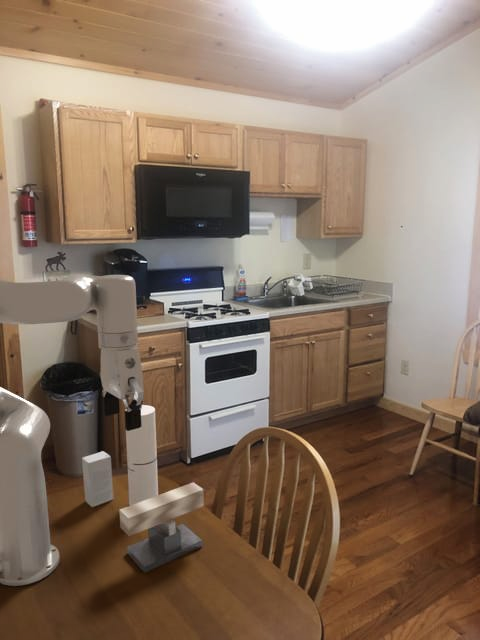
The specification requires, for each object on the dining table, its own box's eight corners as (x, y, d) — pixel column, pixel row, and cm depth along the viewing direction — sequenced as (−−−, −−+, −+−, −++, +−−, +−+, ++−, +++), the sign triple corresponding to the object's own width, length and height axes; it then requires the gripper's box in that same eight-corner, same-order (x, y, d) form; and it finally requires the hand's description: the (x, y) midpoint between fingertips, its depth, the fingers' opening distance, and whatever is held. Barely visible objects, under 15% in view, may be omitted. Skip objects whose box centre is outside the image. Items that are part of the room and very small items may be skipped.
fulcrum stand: (144, 572, 105) (143, 537, 104) (126, 553, 112) (125, 519, 110) (202, 546, 114) (201, 513, 112) (182, 529, 120) (181, 497, 119)
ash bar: (129, 536, 104) (128, 518, 103) (120, 527, 107) (119, 509, 107) (203, 506, 115) (203, 489, 114) (193, 498, 118) (193, 482, 117)
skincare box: (106, 493, 136) (103, 450, 134) (113, 499, 133) (111, 456, 131) (84, 501, 132) (81, 457, 130) (91, 508, 129) (88, 463, 127)
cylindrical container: (152, 514, 126) (148, 416, 122) (124, 511, 128) (119, 414, 123) (162, 498, 133) (159, 406, 128) (136, 496, 135) (132, 404, 130)
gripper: (157, 344, 97) (160, 430, 101) (116, 328, 111) (120, 405, 114) (119, 350, 93) (124, 440, 96) (82, 333, 106) (87, 413, 109)
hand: (122, 421), depth 105 cm, fingers open, 9 cm apart
